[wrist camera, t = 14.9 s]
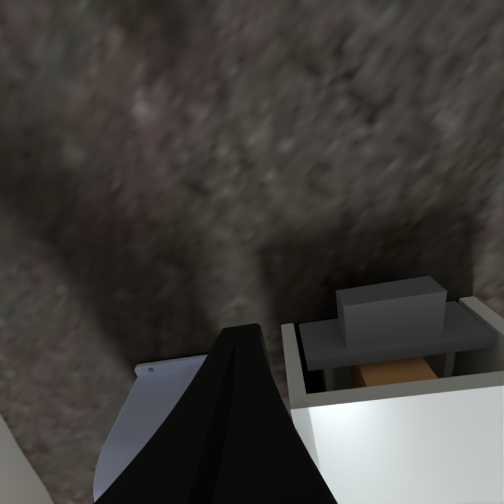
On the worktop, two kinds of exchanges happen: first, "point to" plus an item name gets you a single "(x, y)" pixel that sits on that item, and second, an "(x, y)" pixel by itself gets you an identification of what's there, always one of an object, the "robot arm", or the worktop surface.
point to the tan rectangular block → (391, 372)
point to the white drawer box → (410, 429)
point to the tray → (391, 330)
